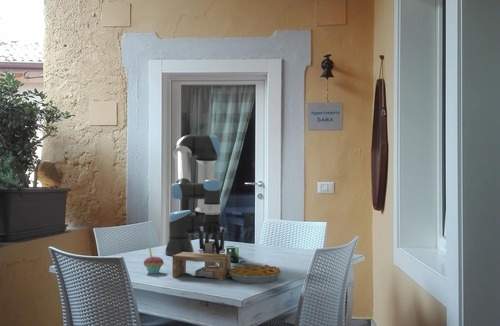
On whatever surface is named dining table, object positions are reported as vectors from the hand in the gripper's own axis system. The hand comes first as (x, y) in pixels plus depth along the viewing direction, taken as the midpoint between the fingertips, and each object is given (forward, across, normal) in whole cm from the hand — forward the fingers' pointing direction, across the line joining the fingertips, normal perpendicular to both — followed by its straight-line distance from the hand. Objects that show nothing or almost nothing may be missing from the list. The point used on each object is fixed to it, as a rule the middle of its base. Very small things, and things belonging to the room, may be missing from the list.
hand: (211, 264), depth 241 cm
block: (+3, +6, -12) cm, 14 cm away
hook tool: (+2, +3, -7) cm, 7 cm away
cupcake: (+3, -22, -13) cm, 26 cm away
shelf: (+2, +1, -14) cm, 14 cm away
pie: (+3, +24, -11) cm, 26 cm away
